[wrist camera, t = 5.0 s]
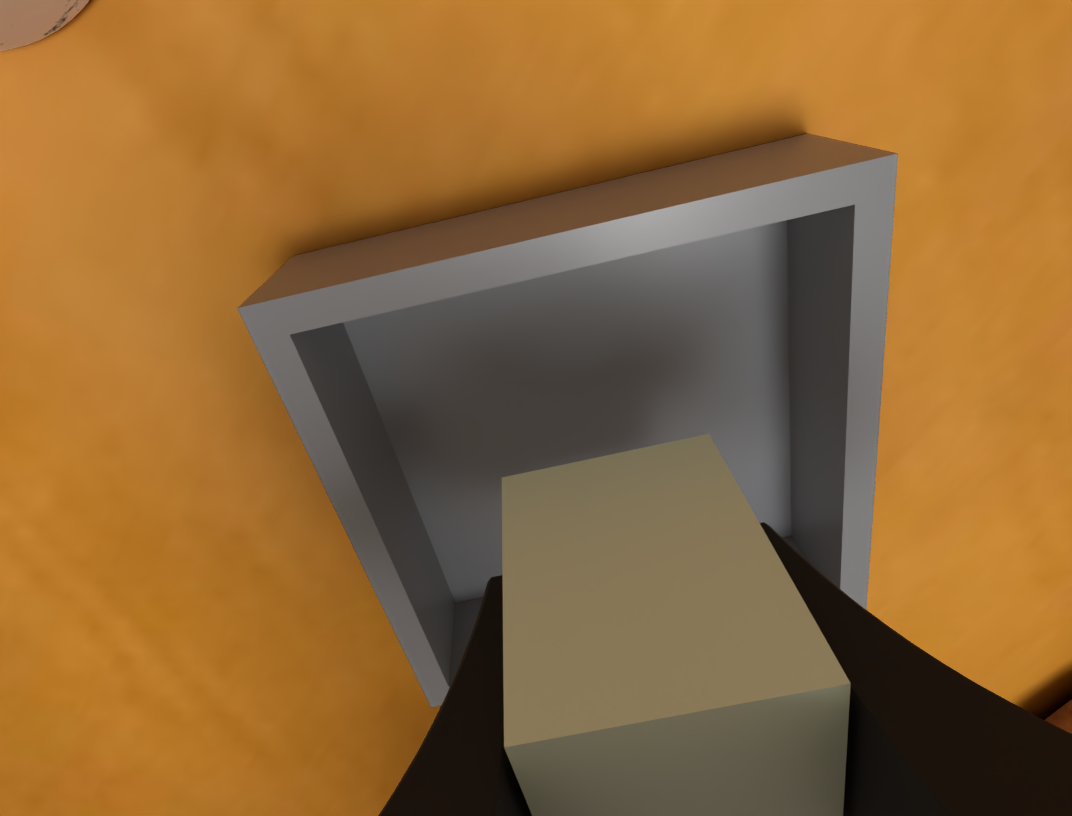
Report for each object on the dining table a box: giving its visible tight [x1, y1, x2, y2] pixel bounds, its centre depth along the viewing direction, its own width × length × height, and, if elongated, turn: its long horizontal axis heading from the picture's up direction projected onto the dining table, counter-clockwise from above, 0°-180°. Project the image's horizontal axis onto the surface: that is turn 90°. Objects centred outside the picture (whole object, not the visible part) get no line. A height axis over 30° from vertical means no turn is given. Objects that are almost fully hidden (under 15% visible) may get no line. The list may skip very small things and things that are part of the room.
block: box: [502, 434, 851, 816], centre depth 12 cm, size 4×4×6 cm
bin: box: [237, 134, 898, 708], centre depth 17 cm, size 14×14×4 cm
